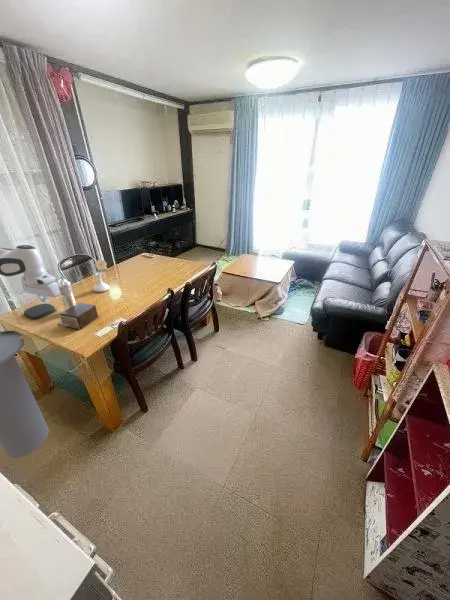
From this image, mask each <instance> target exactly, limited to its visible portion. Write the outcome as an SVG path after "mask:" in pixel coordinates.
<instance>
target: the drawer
mask: <svg viewBox="0 0 450 600" xmlns="http://www.w3.org/2000/svg"><path fill="white" fill-rule="evenodd" d="M59 318H60V321H61V322H58V323H57V326H59V327H64V328H73V329H79V328H80V327H79V323H78V320H77V318H74V317H70V316H64V315H61V314H60V315H59ZM79 330H80V329H79Z"/></svg>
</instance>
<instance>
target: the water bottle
mask: <svg viewBox="0 0 450 600" xmlns="http://www.w3.org/2000/svg"><path fill="white" fill-rule="evenodd" d="M57 285H58V288H59V291H60V297H61V299H62V303H63V307H64V309H65V310H67V309H69V308H70V307H72V306H74V305H76V304H77V301H76V298H75V295H74V292H73V289H72V286H71V281H70V280H69V279H67V278H65V276H63V275H61V276H60V279H59V280H58V282H57ZM65 310H64V311H65Z"/></svg>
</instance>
